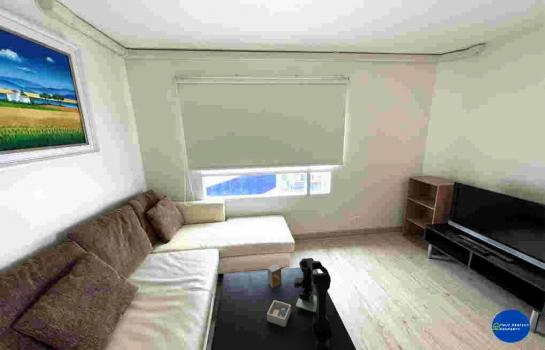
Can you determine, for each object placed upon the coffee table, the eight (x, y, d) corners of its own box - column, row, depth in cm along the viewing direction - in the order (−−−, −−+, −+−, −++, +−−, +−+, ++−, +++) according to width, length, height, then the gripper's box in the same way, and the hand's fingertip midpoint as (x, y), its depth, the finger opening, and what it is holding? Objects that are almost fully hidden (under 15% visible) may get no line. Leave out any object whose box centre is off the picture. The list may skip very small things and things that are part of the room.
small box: (272, 288, 150) (271, 272, 147) (267, 283, 155) (267, 267, 153) (281, 283, 154) (281, 267, 152) (276, 279, 160) (276, 263, 157)
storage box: (285, 327, 120) (284, 319, 119) (267, 321, 124) (266, 313, 123) (290, 311, 130) (290, 304, 129) (274, 306, 134) (274, 300, 133)
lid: (315, 313, 126) (315, 305, 125) (295, 308, 131) (295, 299, 130) (319, 299, 137) (319, 291, 136) (301, 294, 142) (300, 286, 141)
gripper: (299, 265, 142) (299, 286, 145) (290, 284, 125) (291, 307, 128) (315, 269, 138) (315, 290, 141) (309, 289, 121) (309, 312, 124)
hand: (307, 299), depth 134 cm, fingers closed on lid, 2 cm apart
